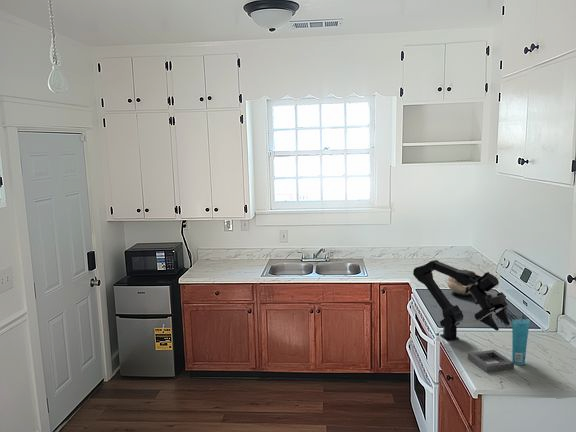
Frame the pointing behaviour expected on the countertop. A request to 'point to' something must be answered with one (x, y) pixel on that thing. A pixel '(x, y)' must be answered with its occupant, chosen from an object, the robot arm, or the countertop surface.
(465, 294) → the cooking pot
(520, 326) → the tube
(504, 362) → the grey square frame
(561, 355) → the countertop surface
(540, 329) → the countertop surface
